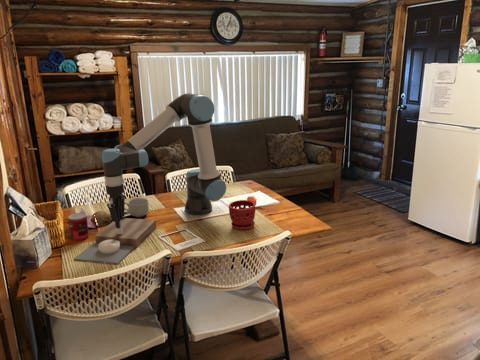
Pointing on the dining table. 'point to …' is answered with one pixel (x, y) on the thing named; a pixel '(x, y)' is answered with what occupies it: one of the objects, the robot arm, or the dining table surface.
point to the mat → (95, 256)
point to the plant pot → (242, 214)
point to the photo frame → (184, 244)
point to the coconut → (101, 218)
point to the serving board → (128, 232)
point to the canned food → (78, 226)
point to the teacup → (137, 207)
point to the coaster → (109, 246)
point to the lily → (88, 219)
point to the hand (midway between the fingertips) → (120, 233)
